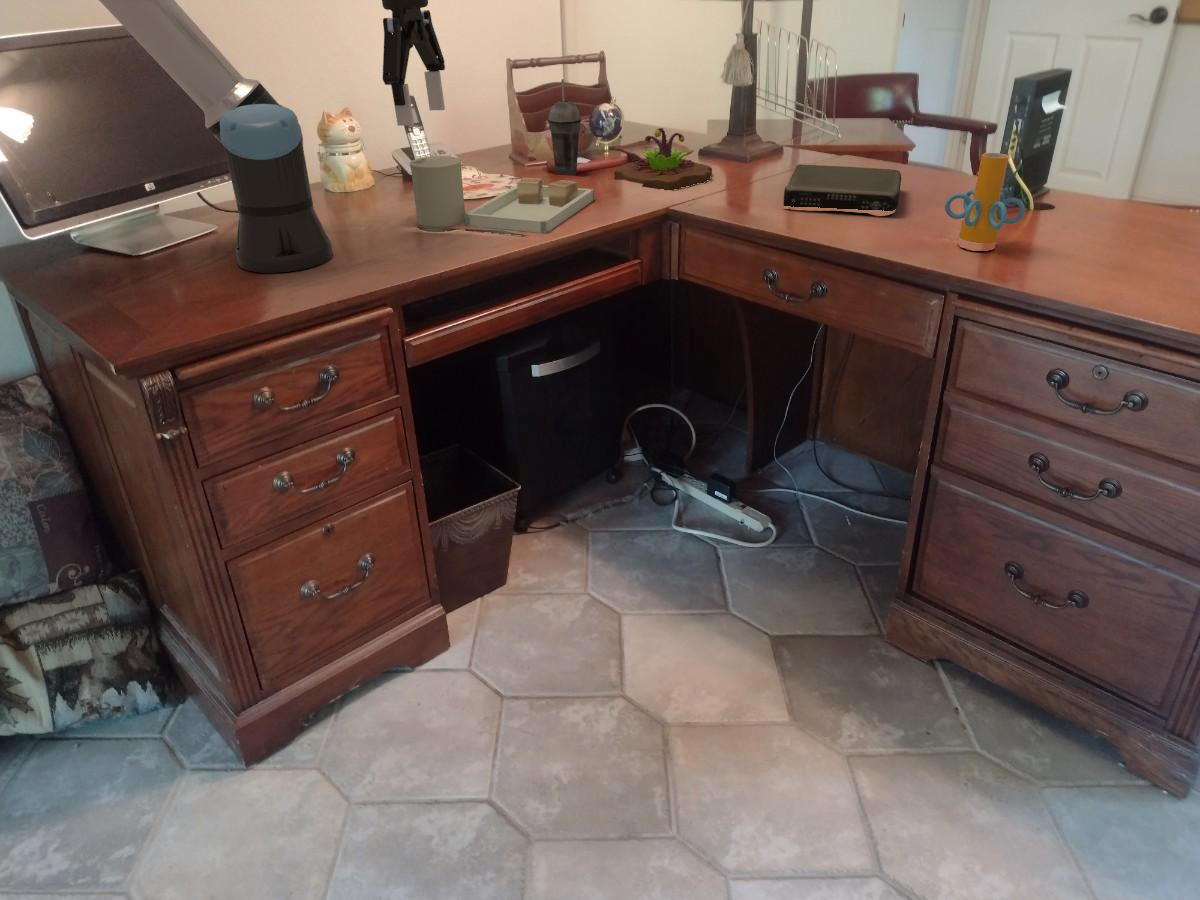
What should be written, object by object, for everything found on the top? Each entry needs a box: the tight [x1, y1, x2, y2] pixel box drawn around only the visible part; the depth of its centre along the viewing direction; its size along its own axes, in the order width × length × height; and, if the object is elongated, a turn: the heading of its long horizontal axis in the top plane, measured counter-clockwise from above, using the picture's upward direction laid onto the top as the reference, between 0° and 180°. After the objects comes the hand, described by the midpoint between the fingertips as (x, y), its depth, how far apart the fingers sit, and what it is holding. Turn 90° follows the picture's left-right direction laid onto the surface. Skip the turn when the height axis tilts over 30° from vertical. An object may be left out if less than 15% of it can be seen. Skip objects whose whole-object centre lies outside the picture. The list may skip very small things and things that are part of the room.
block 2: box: [547, 179, 579, 207], centre depth 170 cm, size 4×4×4 cm
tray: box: [464, 184, 595, 237], centre depth 166 cm, size 24×16×3 cm, turn 160°
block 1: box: [516, 177, 544, 204], centre depth 172 cm, size 4×4×4 cm
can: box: [409, 155, 466, 233], centre depth 160 cm, size 9×9×12 cm
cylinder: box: [944, 152, 1026, 243], centre depth 144 cm, size 12×10×15 cm
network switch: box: [783, 164, 902, 211], centre depth 173 cm, size 23×23×5 cm
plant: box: [613, 127, 713, 191], centre depth 189 cm, size 20×20×11 cm
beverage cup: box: [547, 78, 582, 177], centre depth 191 cm, size 7×7×20 cm
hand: (422, 117), depth 155 cm, fingers open, 13 cm apart
